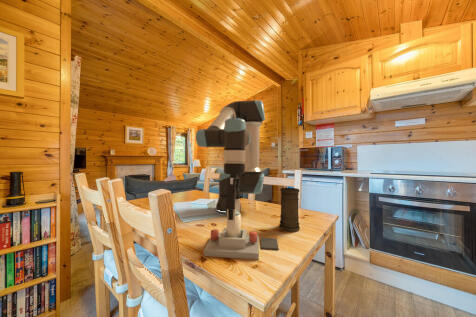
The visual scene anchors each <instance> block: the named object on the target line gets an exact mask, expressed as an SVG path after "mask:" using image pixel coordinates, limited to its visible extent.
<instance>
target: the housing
mask: <svg viewBox="0 0 476 317" xmlns="http://www.w3.org/2000/svg"><path fill="white" fill-rule="evenodd" d="M247 230H248V229H247V228H241V238H235V237H227V227H226V228H225V227H224V228H223V229H222V230H221V231H222V232H219V235H218V240H211V237H209V240H208V242H207V244H206V245H205V247H204V249H203V256H205V257H212V258H213V257H215V258H216V257H217V258H228V259H231V258H233V259H243V260H259V259H260V254H259V252H260V244H259V243H260V240H259V239H260V237H259V234H257V242H255V243H252V242H250V241H249V233H248V232H247ZM247 233H248V234H247Z"/></svg>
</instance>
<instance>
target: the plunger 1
mask: <svg viewBox="0 0 476 317" xmlns="http://www.w3.org/2000/svg"><path fill="white" fill-rule="evenodd" d="M219 233H220V232H219V230H218V229H211V230H210V238H211V240H218V235H219Z"/></svg>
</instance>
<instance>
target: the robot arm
mask: <svg viewBox="0 0 476 317" xmlns="http://www.w3.org/2000/svg"><path fill="white" fill-rule="evenodd" d="M265 121H266V114H265V108H264V102H263V101H262V100H256V99H254V100H251V99H250V100H237V101H232V102H230V103H227V105H225V106H223V107H222V108H221V110H219V114H218V115H217V117H216V118H215V119H214V120H212V123H211V124H210V125H209V126H208V127H207V128H206V129H205V128H201V129H198V130H196V133H195V142H196V144H197V146H198V147H200V148H223V153H222V156H223V161H224V162H225V163H224V164H223V171H222V172H220V173H219V177H218V199H217V202H216V205H215V210H216V209H217V210H220V211H226V212H227V213H226V228H227V229H233V230H235V213H236V211H239V212H240V213H241V211H242V205H241V199H242V196H241V194H252V195H259V194H261V193H262V191H263V189H264V188H263V185H264V180H265V174H264V173H263V170H262V169H261V168H260V133H261V131H260V130H261V126H262V125H263V122H265Z"/></svg>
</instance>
